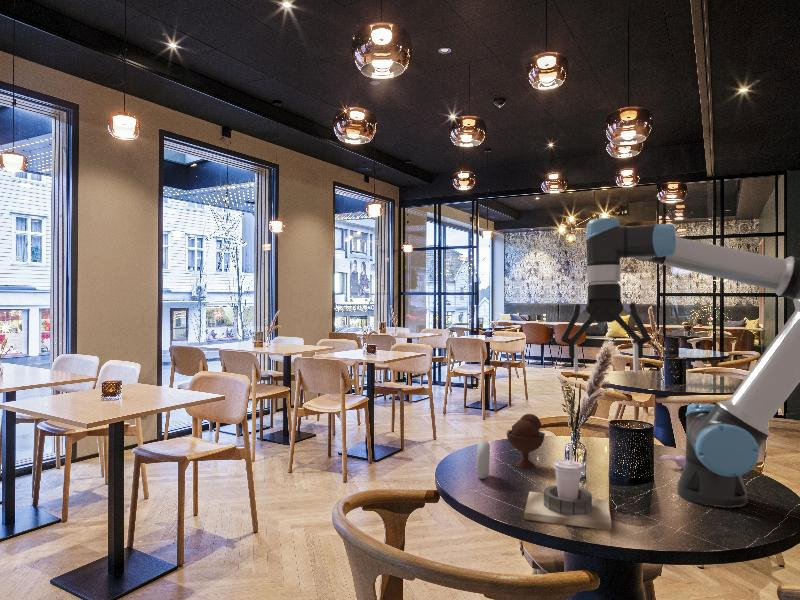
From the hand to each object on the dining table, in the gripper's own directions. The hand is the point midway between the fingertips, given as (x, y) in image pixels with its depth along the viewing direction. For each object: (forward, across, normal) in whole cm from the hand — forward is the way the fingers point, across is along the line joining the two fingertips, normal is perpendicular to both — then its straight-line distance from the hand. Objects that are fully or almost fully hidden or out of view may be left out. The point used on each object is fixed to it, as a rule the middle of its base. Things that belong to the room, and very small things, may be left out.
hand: (605, 372), depth 136 cm
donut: (+30, +31, -10) cm, 44 cm away
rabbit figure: (+32, -25, -33) cm, 53 cm away
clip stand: (+31, +10, +10) cm, 34 cm away
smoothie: (+30, +10, +10) cm, 33 cm away
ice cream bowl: (+31, +20, -24) cm, 44 cm away
